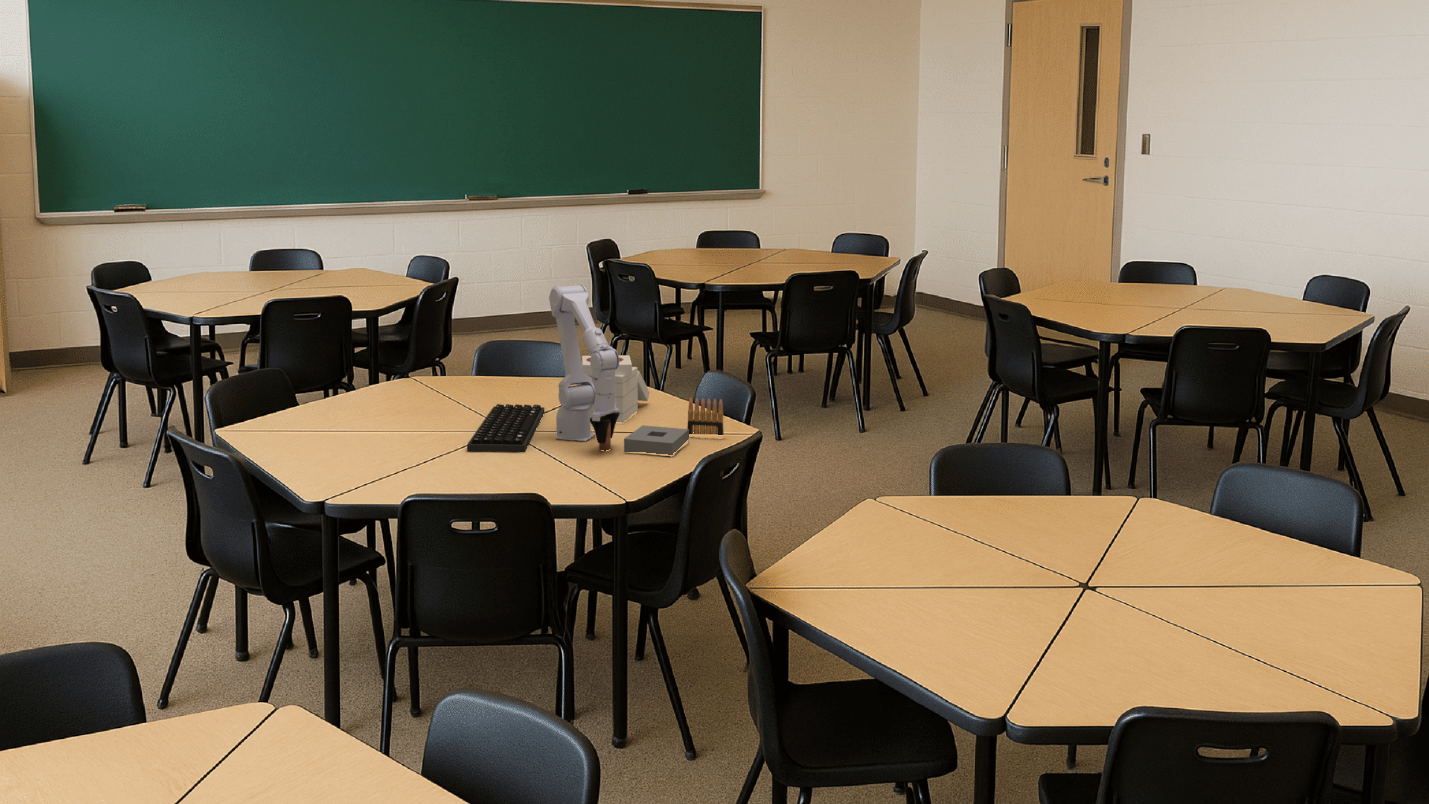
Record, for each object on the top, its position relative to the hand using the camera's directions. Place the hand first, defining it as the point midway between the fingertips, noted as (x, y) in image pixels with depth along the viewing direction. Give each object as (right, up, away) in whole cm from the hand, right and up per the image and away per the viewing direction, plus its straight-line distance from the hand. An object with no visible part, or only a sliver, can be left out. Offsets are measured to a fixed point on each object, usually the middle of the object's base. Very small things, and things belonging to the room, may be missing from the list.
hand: (604, 440), depth 325 cm
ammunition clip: (+28, 0, +16) cm, 32 cm away
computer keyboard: (-30, +1, +19) cm, 36 cm away
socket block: (+14, -2, +4) cm, 15 cm away
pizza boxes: (-2, +7, +43) cm, 44 cm away
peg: (0, -3, +1) cm, 3 cm away
